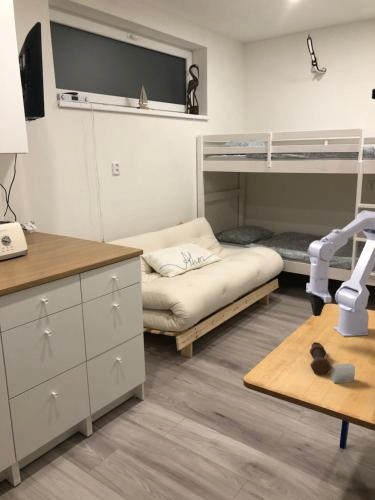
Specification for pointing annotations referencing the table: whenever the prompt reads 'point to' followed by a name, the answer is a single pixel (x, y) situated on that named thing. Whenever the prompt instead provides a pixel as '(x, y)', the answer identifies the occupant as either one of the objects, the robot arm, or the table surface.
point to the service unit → (342, 373)
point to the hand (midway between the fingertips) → (316, 315)
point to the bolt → (319, 360)
